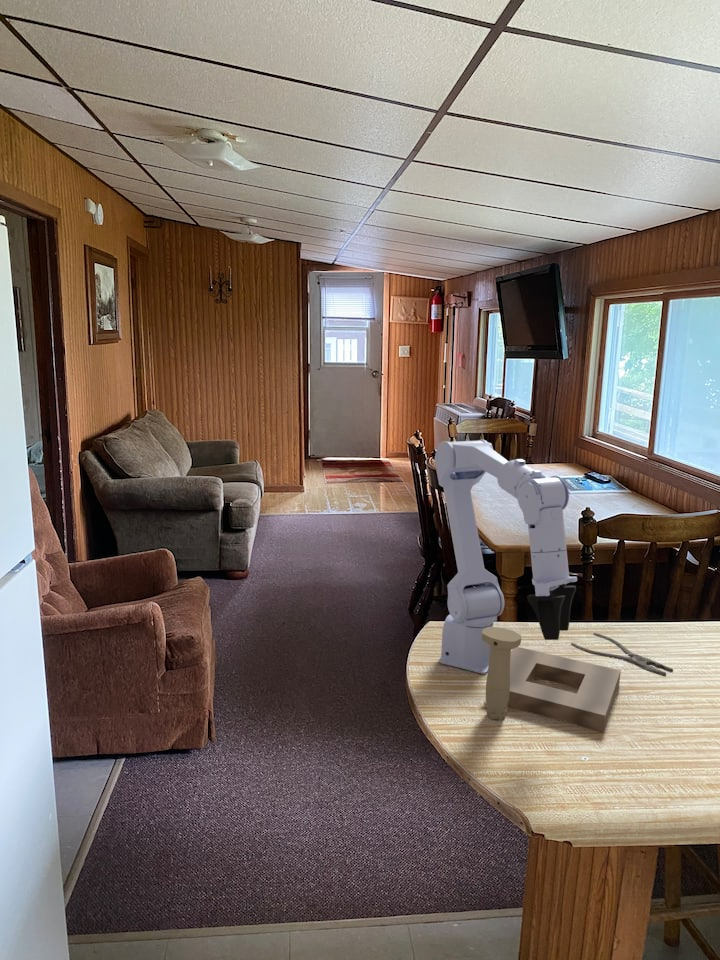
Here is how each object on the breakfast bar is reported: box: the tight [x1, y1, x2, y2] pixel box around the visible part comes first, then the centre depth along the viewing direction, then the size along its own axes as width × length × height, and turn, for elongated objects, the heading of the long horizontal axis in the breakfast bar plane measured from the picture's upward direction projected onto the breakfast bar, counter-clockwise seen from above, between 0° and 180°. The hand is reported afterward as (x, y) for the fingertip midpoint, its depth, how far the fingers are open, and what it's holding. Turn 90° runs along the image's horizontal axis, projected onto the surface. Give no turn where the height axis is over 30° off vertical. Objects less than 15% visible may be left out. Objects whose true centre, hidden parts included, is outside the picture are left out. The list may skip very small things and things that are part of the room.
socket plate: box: [507, 646, 622, 733], centre depth 128 cm, size 20×18×3 cm
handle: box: [482, 626, 522, 721], centre depth 119 cm, size 5×6×15 cm
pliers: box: [570, 632, 674, 677], centre depth 145 cm, size 10×1×20 cm
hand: (556, 634), depth 114 cm, fingers open, 7 cm apart
